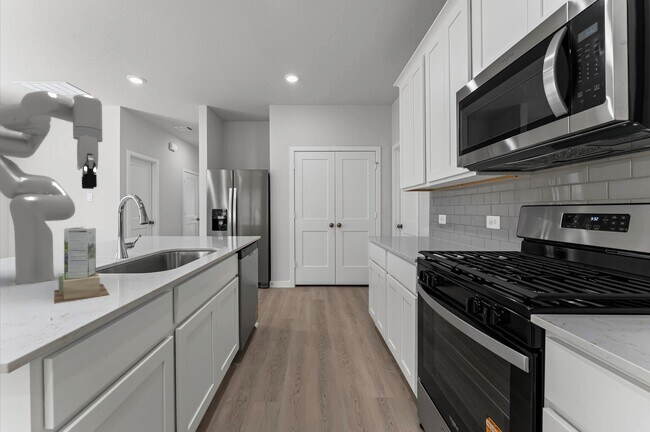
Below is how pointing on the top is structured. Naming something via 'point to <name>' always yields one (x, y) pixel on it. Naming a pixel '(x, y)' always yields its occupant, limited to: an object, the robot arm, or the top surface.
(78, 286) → the base block
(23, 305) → the top surface
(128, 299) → the top surface
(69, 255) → the syrup box
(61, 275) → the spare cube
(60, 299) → the board
